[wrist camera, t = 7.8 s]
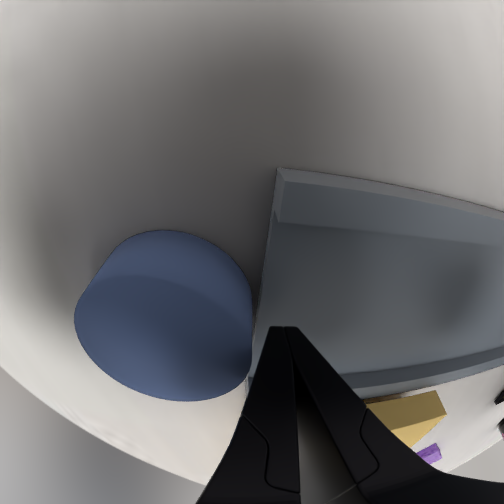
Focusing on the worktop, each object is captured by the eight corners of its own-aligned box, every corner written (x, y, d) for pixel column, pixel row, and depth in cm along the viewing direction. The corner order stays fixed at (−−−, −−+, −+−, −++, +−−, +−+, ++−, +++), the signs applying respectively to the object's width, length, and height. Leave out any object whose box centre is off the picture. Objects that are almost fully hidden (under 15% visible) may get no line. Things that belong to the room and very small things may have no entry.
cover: (336, 482, 20) (340, 503, 17) (233, 491, 19) (234, 514, 17) (441, 380, 11) (459, 417, 9) (256, 402, 10) (260, 457, 8)
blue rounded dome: (260, 237, 8) (263, 286, 6) (245, 358, 11) (244, 408, 9) (91, 224, 8) (53, 264, 6) (117, 342, 10) (100, 386, 8)
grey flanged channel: (567, 234, 9) (579, 244, 8) (506, 349, 14) (514, 360, 13) (277, 167, 7) (285, 180, 6) (245, 383, 12) (246, 406, 11)
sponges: (335, 481, 26) (338, 494, 24) (435, 438, 22) (440, 451, 21) (353, 484, 29) (355, 495, 27) (438, 447, 26) (443, 458, 24)
